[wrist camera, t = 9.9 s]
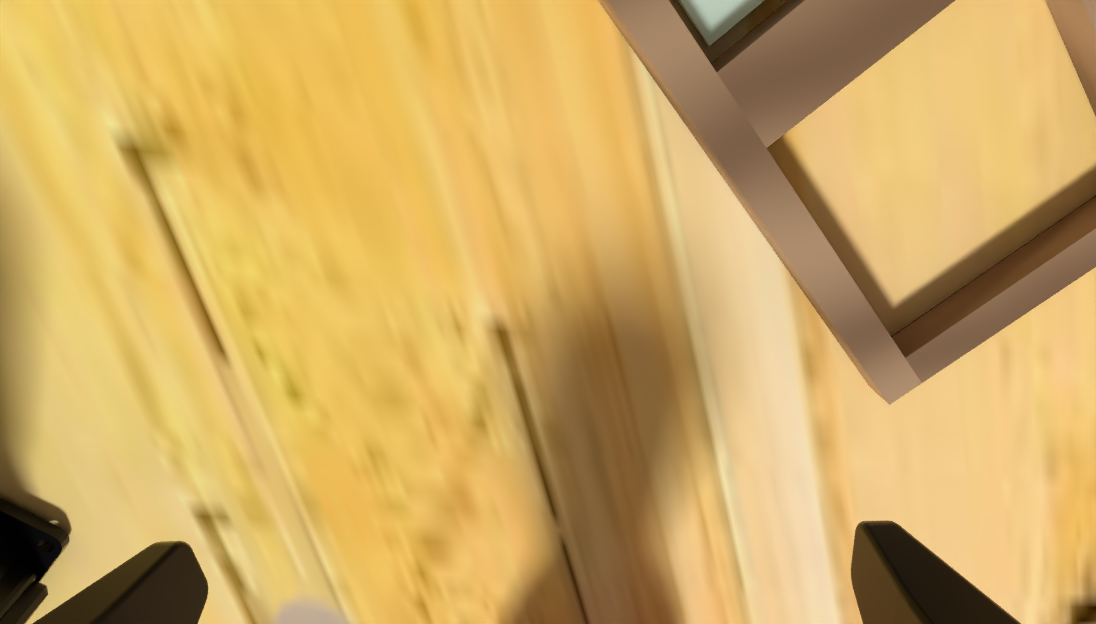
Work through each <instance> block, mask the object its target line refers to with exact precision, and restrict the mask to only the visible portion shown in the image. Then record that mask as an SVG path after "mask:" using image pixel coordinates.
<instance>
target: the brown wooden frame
mask: <svg viewBox="0 0 1096 624" xmlns="http://www.w3.org/2000/svg"><path fill="white" fill-rule="evenodd" d="M598 1H599V2H600V3H601V5H602V6H603V8H604V9H605V11H606V12H607V13H608V15H609V16H610V18H611V19H612V20H613V22H614V23H615V25H616V26H617V28H618V29H619V30H620V32H621V33H622V35H623V36H624V38H625V39H626V40H627V42H628V43H629V45H630V46H631V48H632V49H633V50H634V52H635V53H636V55H637V56H638V57H639V59H640V60H641V62H642V63H643V65H644V66H645V67H646V69H647V70H648V72H649V73H650V75H651V76H652V77H653V79H654V80H655V82H656V83H657V85H658V86H659V87H660V89H661V90H662V92H663V93H664V94H665V96H666V97H667V99H668V100H669V102H670V103H671V104H672V106H673V107H674V109H675V110H676V112H677V113H678V114H679V116H680V117H681V119H682V120H683V121H684V123H685V124H686V126H687V127H688V129H689V130H690V131H691V133H692V134H693V136H694V137H695V139H696V140H697V141H698V143H699V144H700V146H701V147H702V149H703V150H704V151H705V153H706V154H707V156H708V157H709V158H710V160H711V161H712V163H713V164H714V166H715V167H716V168H717V170H718V171H719V173H720V174H721V176H722V177H723V178H724V180H725V181H726V183H727V184H728V186H729V187H730V188H731V190H732V191H733V193H734V194H735V195H736V197H737V198H738V200H739V201H740V203H741V204H742V205H743V207H744V208H745V210H746V211H747V213H748V214H749V215H750V217H751V218H752V220H753V221H754V223H755V224H756V225H757V227H758V228H759V230H760V231H761V232H762V234H763V235H764V237H765V238H766V240H767V241H768V242H769V244H770V245H771V247H772V248H773V250H774V251H775V252H776V254H777V255H778V257H779V258H780V260H781V261H782V262H783V264H784V265H785V267H786V268H787V269H788V271H789V272H790V274H791V275H792V277H793V278H794V279H795V281H796V282H797V284H798V285H799V287H800V288H801V289H802V291H803V292H804V294H805V295H806V297H807V298H808V299H809V301H810V302H811V304H812V305H813V306H814V308H815V309H816V311H817V312H818V314H819V315H820V316H821V318H822V319H823V321H824V322H825V324H826V325H827V326H828V328H829V329H830V331H831V332H832V334H833V335H834V336H835V338H836V339H837V341H838V342H839V343H840V345H841V346H842V348H843V349H844V351H845V352H846V353H847V355H848V356H849V358H850V359H851V361H852V362H853V363H854V365H855V366H856V368H857V369H858V371H859V372H860V373H861V375H862V376H863V378H864V379H865V380H866V382H867V383H868V385H869V386H870V387H871V388H872V389H873V390H874V391H875V392H876V393H877V394H878V395H879V396H880V397H882V398H883V399H884V400H885V401H886V402H887V403H888V404H889V405H890V404H891V403H893V402H894V401H896V400H897V399H899V398H900V397H902V396H903V395H905V394H906V393H908V392H909V391H911V390H912V389H914V388H915V387H917V386H918V385H920V384H921V383H923V382H924V381H926V380H927V379H929V378H930V377H932V376H933V375H935V374H936V373H938V372H939V371H941V370H942V369H944V368H945V367H947V366H948V365H950V364H951V363H953V362H954V361H956V360H957V359H959V358H960V357H962V356H963V355H965V354H966V353H968V352H969V351H971V350H972V349H974V348H975V347H977V346H978V345H980V344H981V343H983V342H984V341H986V340H987V339H989V338H990V337H992V336H993V335H995V334H996V333H997V332H999V331H1000V330H1002V329H1003V328H1005V327H1006V326H1008V325H1009V324H1011V323H1012V322H1014V321H1015V320H1017V319H1018V318H1020V317H1021V316H1023V315H1024V314H1026V313H1027V312H1029V311H1030V310H1032V309H1033V308H1035V307H1036V306H1038V305H1039V304H1041V303H1042V302H1044V301H1045V300H1047V299H1048V298H1050V297H1051V296H1053V295H1054V294H1056V293H1057V292H1059V291H1060V290H1062V289H1063V288H1065V287H1066V286H1068V285H1069V284H1071V283H1072V282H1074V281H1075V280H1077V279H1078V278H1080V277H1081V276H1083V275H1084V274H1086V273H1087V272H1089V271H1090V270H1092V269H1093V268H1095V267H1096V196H1095V197H1094V198H1093V199H1091V200H1090V201H1088V202H1087V203H1085V204H1084V205H1082V206H1081V207H1079V208H1078V209H1077V210H1075V211H1074V212H1072V213H1071V214H1069V215H1068V216H1066V217H1065V218H1064V219H1062V220H1061V221H1059V222H1058V223H1056V224H1055V225H1053V226H1052V227H1051V228H1049V229H1048V230H1046V231H1045V232H1043V233H1042V234H1040V235H1039V236H1037V237H1036V238H1035V239H1033V240H1032V241H1030V242H1029V243H1027V244H1026V245H1024V246H1023V247H1022V248H1020V249H1019V250H1017V251H1016V252H1014V253H1013V254H1011V255H1010V256H1008V257H1007V258H1006V259H1004V260H1003V261H1001V262H1000V263H998V264H997V265H995V266H994V267H993V268H991V269H990V270H988V271H987V272H985V273H984V274H982V275H981V276H979V277H978V278H977V279H975V280H974V281H972V282H971V283H969V284H968V285H966V286H965V287H964V288H962V289H961V290H959V291H958V292H956V293H955V294H953V295H952V296H951V297H949V298H948V299H946V300H945V301H943V302H942V303H940V304H939V305H937V306H936V307H935V308H933V309H932V310H930V311H929V312H927V313H926V314H924V315H923V316H922V317H920V318H919V319H917V320H916V321H914V322H913V323H911V324H910V325H908V326H907V327H906V328H904V329H903V330H901V331H900V332H898V333H897V334H895V335H894V336H893V337H891V336H890V334H889V333H888V331H887V330H886V328H885V327H884V325H883V324H882V322H881V321H880V319H879V318H878V316H877V315H876V313H875V312H874V310H873V309H872V307H871V306H870V304H869V303H868V301H867V300H866V298H865V297H864V295H863V293H862V292H861V290H860V289H859V287H858V286H857V284H856V283H855V281H854V280H853V278H852V277H851V275H850V274H849V272H848V271H847V269H846V268H845V266H844V265H843V263H842V262H841V260H840V259H839V257H838V256H837V254H836V253H835V251H834V250H833V248H832V247H831V245H830V244H829V242H828V240H827V239H826V237H825V236H824V234H823V233H822V231H821V230H820V228H819V227H818V225H817V224H816V222H815V221H814V219H813V218H812V216H811V215H810V213H809V212H808V210H807V209H806V207H805V206H804V204H803V203H802V201H801V200H800V198H799V197H798V195H797V194H796V192H795V190H794V189H793V187H792V186H791V184H790V183H789V181H788V180H787V178H786V177H785V175H784V174H783V172H782V171H781V169H780V168H779V166H778V165H777V163H776V162H775V160H774V159H773V157H772V156H771V154H770V153H769V151H768V150H767V147H768V146H770V145H771V144H772V143H773V142H775V141H776V140H777V139H779V138H780V137H781V136H782V135H784V134H785V133H786V132H788V131H789V130H790V129H791V128H793V127H794V126H795V125H796V124H798V123H799V122H800V121H802V120H803V119H804V118H805V117H807V116H808V115H809V114H811V113H812V112H813V111H814V110H816V109H817V108H818V107H819V106H821V105H822V104H823V103H825V102H826V101H827V100H828V99H830V98H831V97H832V96H834V95H835V94H836V93H837V92H839V91H840V90H841V89H842V88H844V87H845V86H846V85H848V84H849V83H850V82H851V81H853V80H854V79H855V78H857V77H858V76H859V75H860V74H862V73H863V72H864V71H865V70H867V69H868V68H869V67H871V66H872V65H873V64H874V63H876V62H877V61H878V60H880V59H881V58H882V57H883V56H885V55H886V54H887V53H888V52H890V51H891V50H892V49H894V48H895V47H896V46H897V45H899V44H900V43H901V42H903V41H904V40H905V39H906V38H908V37H909V36H910V35H911V34H913V33H914V32H915V31H917V30H918V29H919V28H920V27H922V26H923V25H924V24H926V23H927V22H928V21H929V20H931V19H932V18H933V17H934V16H936V15H937V14H938V13H940V12H941V11H942V10H943V9H945V8H946V7H947V6H949V5H950V4H951V3H952V2H954V1H955V0H788V1H787V2H786V3H784V4H783V5H782V6H781V7H780V8H778V9H777V10H776V11H775V12H773V13H772V14H771V15H770V16H769V17H767V18H766V19H765V20H764V21H763V22H761V23H760V24H759V25H758V26H757V27H755V28H754V29H753V30H752V31H750V32H749V33H748V34H747V35H746V36H744V37H743V38H742V39H741V40H740V41H738V42H737V43H736V44H735V45H734V46H732V47H731V48H730V49H729V50H727V51H726V52H725V53H724V54H723V55H721V56H720V57H719V58H718V59H717V60H715V61H714V62H713V63H712V64H711V63H710V62H709V60H708V59H707V57H706V56H705V54H704V53H703V51H702V50H701V48H700V47H699V45H698V44H697V42H696V41H695V39H694V38H693V36H692V35H691V33H690V31H689V30H688V28H687V27H686V25H685V24H684V22H683V21H682V19H681V18H680V16H679V15H678V13H677V12H676V10H675V9H674V7H673V6H672V4H671V3H670V1H669V0H598ZM763 1H764V0H678V2H679V3H680V5H681V6H682V8H683V9H684V11H685V12H686V14H687V15H688V17H689V18H690V20H691V22H692V23H693V25H694V26H695V28H696V29H697V31H698V32H699V34H700V35H701V37H702V38H703V40H704V41H705V43H706V44H707V46H710V45H712V44H713V43H714V42H715V41H716V40H718V39H719V38H720V37H721V36H722V35H724V34H725V33H726V32H727V31H728V30H730V29H731V28H732V27H733V26H734V25H736V24H737V23H738V22H739V21H740V20H742V19H743V18H744V17H745V16H746V15H748V14H749V13H750V12H751V11H752V10H754V9H755V8H756V7H757V6H758V5H760V4H761V3H762V2H763ZM1046 2H1047V4H1048V7H1049V9H1050V11H1051V14H1052V16H1053V18H1054V21H1055V23H1056V25H1057V28H1058V30H1059V32H1060V34H1061V37H1062V39H1063V41H1064V44H1065V46H1066V48H1067V51H1068V53H1069V55H1070V58H1071V60H1072V62H1073V64H1074V67H1075V69H1076V71H1077V74H1078V76H1079V78H1080V81H1081V83H1082V85H1083V88H1084V90H1085V92H1086V94H1087V97H1088V99H1089V101H1090V104H1091V106H1092V108H1093V111H1094V113H1095V115H1096V0H1046Z"/></svg>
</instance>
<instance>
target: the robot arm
mask: <svg viewBox="0 0 1096 624" xmlns="http://www.w3.org/2000/svg"><path fill="white" fill-rule="evenodd" d="M47 540H48V541H50V542H52V543H50V542H48V541H47ZM68 543H69V536H68V534H67V533H66V532H65V531H64V530H62V529H61V528H59V527H57V526H55V525H53V524H51V523H49V522H47V521H45V520H43V519H41V518H39V517H37V516H35V515H33V514H31V513H29V512H27V511H25V510H23V509H21V508H19V507H17V506H15V505H13V504H11V503H9V502H7V501H4V500H2V499H0V624H26V623H27V621H28V620H29V619H30V617H31V616H32V615H33V613H34V612H35V611H36V609H37V608H38V607H39V605H40V604H41V603H42V602H43V600H44V599H45V598H46V596H47V595H48V590H47V586H46V585H44V584H42V583H40V581H41V580H42V578H43V577H44V576H45V574H46V573H47V572H48V570H49V569H50V568H51V566H52V565H53V564H54V562H55V561H56V560H57V558H58V557H59V556H60V554H61V553H62V552H63V550H64V549H65V548H66V546H67V545H68ZM851 579H852V585H853V589H854V593H855V597H856V600H857V604H858V607H859V611H860V614H861V618H862V622H863V624H1021V623H1020V622H1018V621H1017V620H1016V619H1015V618H1013V617H1012V616H1011V615H1010V614H1009V613H1007V612H1006V611H1005V610H1004V609H1002V608H1001V607H1000V606H999V605H997V604H996V603H995V602H994V601H992V600H991V599H990V598H989V597H987V596H986V595H985V594H984V593H983V592H981V591H980V590H979V589H978V588H976V587H975V586H974V585H973V584H971V583H970V582H969V581H968V580H966V579H965V578H964V577H963V576H961V575H960V574H959V573H958V572H957V571H955V570H954V569H953V568H952V567H950V566H949V565H948V564H947V563H945V562H944V561H943V560H942V559H940V558H939V557H938V556H937V555H935V554H934V553H933V552H932V551H931V550H929V549H928V548H927V547H926V546H924V545H923V544H922V543H921V542H919V541H918V540H917V539H916V538H914V537H913V536H912V535H911V534H909V533H908V532H907V531H906V530H905V529H903V528H902V527H901V526H900V525H898V524H897V523H895V522H893V521H863V522H860V523H859V524H858V525H857V527H856V530H855V538H854V546H853V555H852V563H851ZM207 595H208V583H207V580H206V577H205V575H204V573H203V571H202V569H201V567H200V565H199V563H198V561H197V559H196V556H195V554H194V552H193V550H192V548H191V547H190V545H188V544H187V543H186V542H183V541H167V542H157V543H154V544H152V545H150V546H149V547H147V548H146V549H144V550H143V551H141V552H140V553H138V554H137V555H135V556H134V557H132V558H131V559H129V560H128V561H126V562H125V563H123V564H122V565H120V566H119V567H117V568H116V569H114V570H113V571H111V572H110V573H108V574H107V575H105V576H104V577H102V578H101V579H99V580H98V581H96V582H94V583H93V584H91V585H90V586H88V587H87V588H85V589H84V590H82V591H81V592H79V593H78V594H76V595H75V596H73V597H72V598H70V599H69V600H67V601H66V602H64V603H63V604H61V605H60V606H58V607H57V608H55V609H54V610H52V611H51V612H49V613H48V614H46V615H45V616H43V617H42V618H40V619H39V620H37V621H36V622H34V623H33V624H198V621H199V619H200V616H201V613H202V611H203V608H204V605H205V603H206V600H207Z"/></svg>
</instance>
